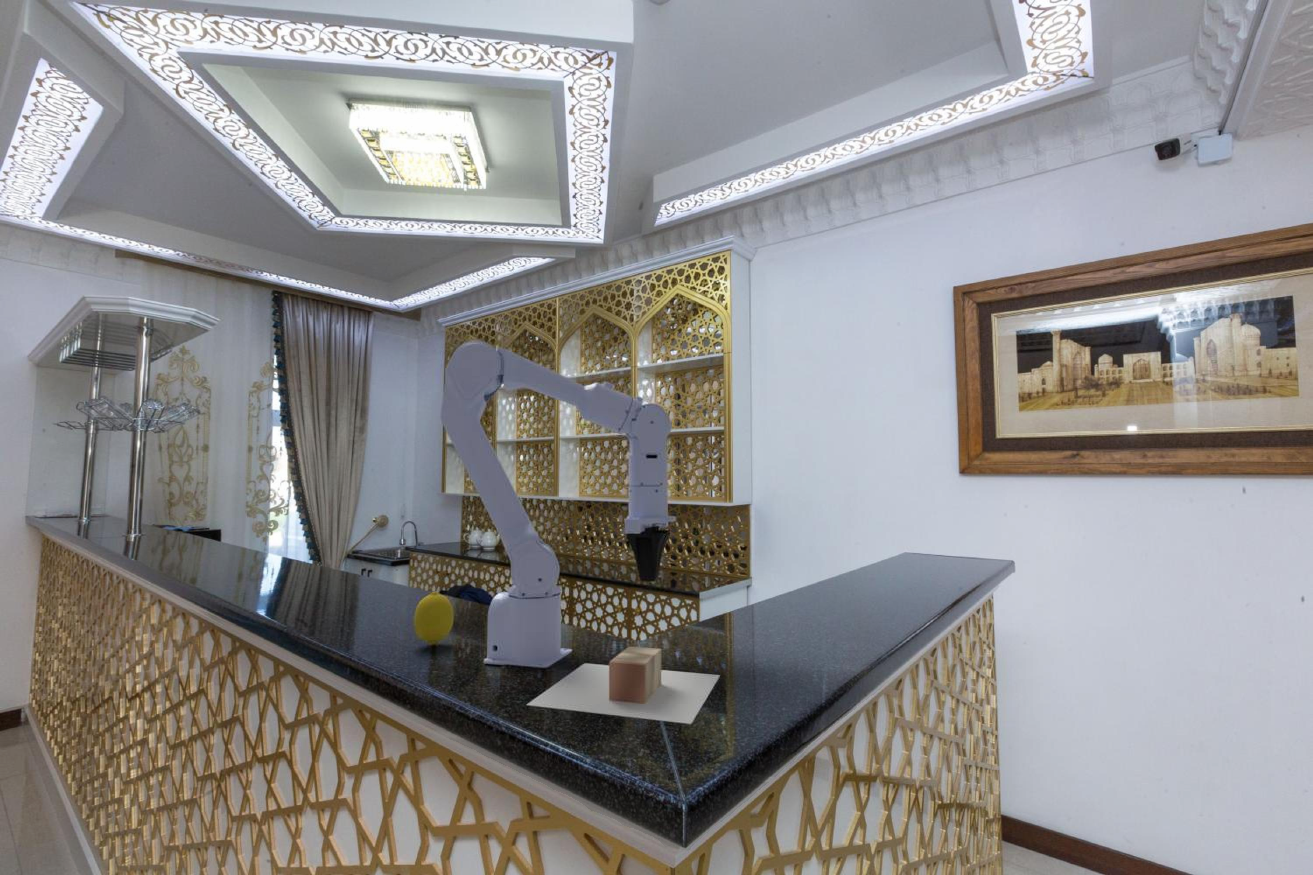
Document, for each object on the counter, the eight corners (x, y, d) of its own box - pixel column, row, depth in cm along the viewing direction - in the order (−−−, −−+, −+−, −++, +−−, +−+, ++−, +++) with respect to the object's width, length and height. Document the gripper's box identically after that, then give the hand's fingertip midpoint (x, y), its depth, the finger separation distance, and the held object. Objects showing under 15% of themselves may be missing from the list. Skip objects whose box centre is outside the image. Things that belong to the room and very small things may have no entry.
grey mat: (526, 708, 61) (526, 704, 61) (584, 666, 75) (584, 663, 75) (691, 727, 55) (691, 723, 55) (720, 678, 70) (720, 675, 70)
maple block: (629, 680, 68) (609, 700, 62) (629, 646, 68) (609, 661, 62) (661, 684, 67) (644, 703, 61) (661, 648, 67) (643, 664, 61)
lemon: (449, 639, 89) (450, 587, 90) (455, 647, 84) (456, 592, 85) (411, 644, 86) (412, 590, 87) (415, 653, 82) (416, 596, 82)
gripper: (659, 485, 76) (660, 590, 75) (686, 486, 90) (687, 574, 88) (610, 486, 78) (610, 587, 77) (643, 486, 92) (644, 572, 90)
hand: (648, 580), depth 83 cm, fingers closed
